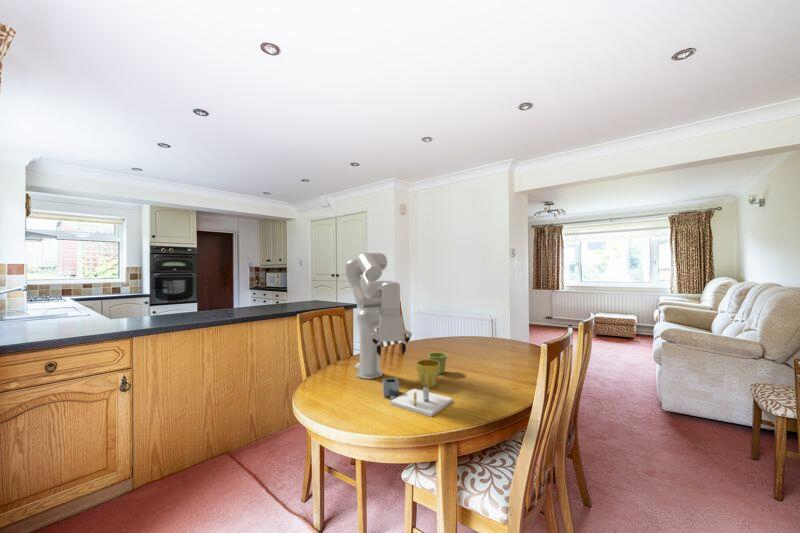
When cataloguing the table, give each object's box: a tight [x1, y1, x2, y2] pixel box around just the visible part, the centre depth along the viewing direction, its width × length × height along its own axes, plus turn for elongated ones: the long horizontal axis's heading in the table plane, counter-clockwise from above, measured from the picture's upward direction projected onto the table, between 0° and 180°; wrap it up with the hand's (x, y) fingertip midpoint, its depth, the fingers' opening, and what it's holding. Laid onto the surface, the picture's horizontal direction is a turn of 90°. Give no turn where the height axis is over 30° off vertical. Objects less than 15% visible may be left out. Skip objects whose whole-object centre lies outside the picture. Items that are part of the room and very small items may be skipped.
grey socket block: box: [382, 377, 400, 402], centre depth 134 cm, size 10×6×6 cm, turn 8°
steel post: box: [422, 386, 430, 402], centre depth 126 cm, size 2×2×5 cm
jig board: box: [389, 388, 454, 418], centre depth 127 cm, size 18×16×1 cm
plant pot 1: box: [428, 351, 449, 375], centre depth 163 cm, size 9×9×9 cm
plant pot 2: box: [416, 358, 440, 388], centre depth 146 cm, size 10×10×10 cm
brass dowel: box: [414, 393, 417, 406], centre depth 122 cm, size 1×1×4 cm
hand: (391, 354), depth 136 cm, fingers open, 9 cm apart
